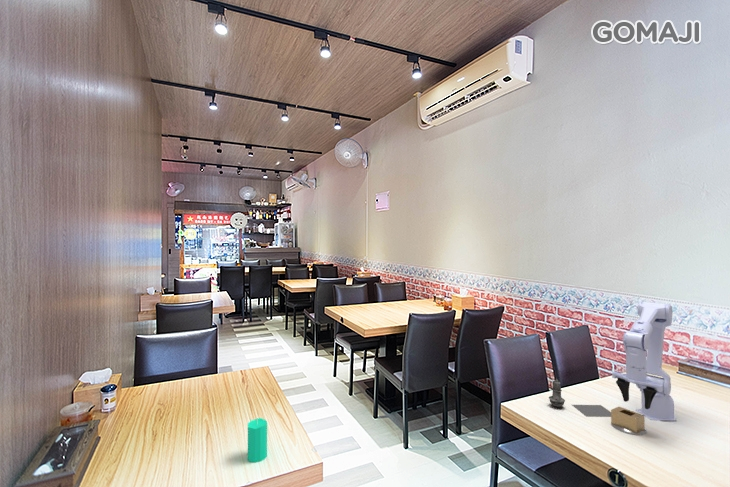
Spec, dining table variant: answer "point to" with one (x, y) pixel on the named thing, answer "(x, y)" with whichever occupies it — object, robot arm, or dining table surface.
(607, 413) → the mat
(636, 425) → the wooden cubby box
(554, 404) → the stepped metal shaft
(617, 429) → the hub
